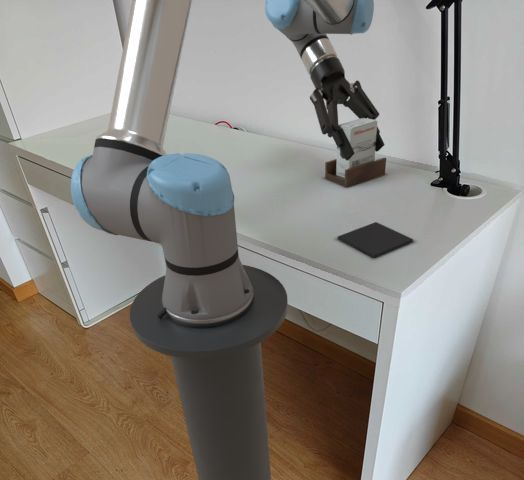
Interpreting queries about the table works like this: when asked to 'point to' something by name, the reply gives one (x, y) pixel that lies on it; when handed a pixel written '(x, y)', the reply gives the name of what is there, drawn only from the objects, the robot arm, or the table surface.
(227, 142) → the table surface
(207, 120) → the table surface
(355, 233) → the mat
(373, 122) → the ink box
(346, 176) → the holder
